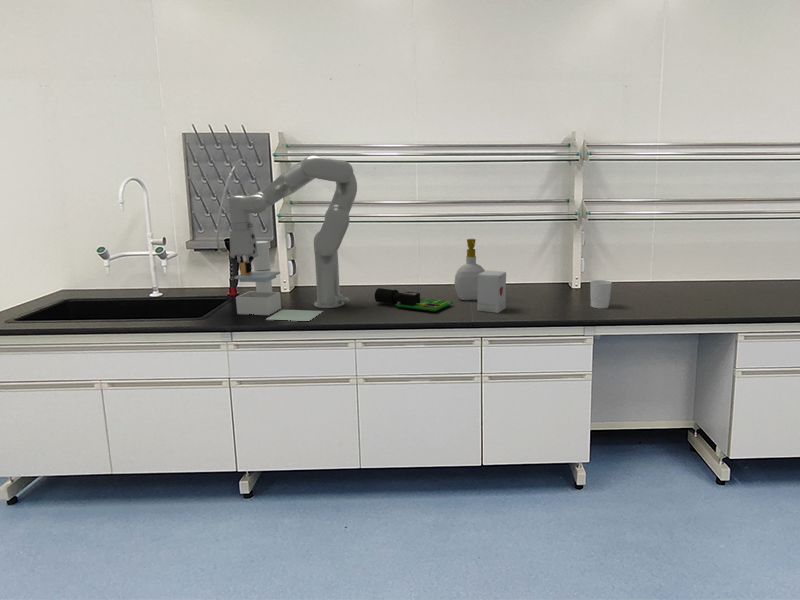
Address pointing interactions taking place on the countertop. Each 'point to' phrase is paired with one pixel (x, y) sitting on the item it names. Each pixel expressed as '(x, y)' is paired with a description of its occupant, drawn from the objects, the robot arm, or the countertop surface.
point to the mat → (294, 315)
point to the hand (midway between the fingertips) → (246, 271)
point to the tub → (258, 303)
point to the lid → (254, 275)
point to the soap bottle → (468, 275)
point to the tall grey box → (263, 265)
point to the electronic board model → (408, 300)
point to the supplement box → (491, 291)
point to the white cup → (600, 293)
